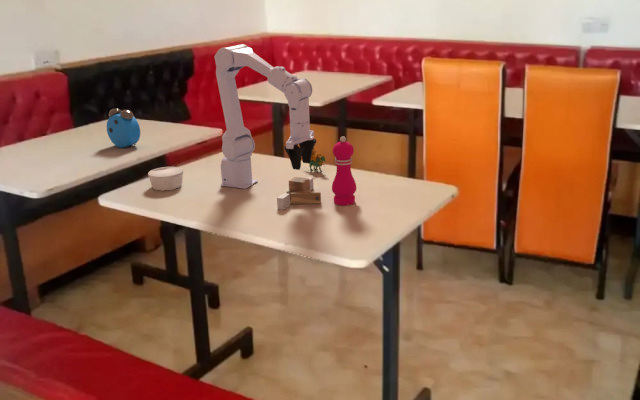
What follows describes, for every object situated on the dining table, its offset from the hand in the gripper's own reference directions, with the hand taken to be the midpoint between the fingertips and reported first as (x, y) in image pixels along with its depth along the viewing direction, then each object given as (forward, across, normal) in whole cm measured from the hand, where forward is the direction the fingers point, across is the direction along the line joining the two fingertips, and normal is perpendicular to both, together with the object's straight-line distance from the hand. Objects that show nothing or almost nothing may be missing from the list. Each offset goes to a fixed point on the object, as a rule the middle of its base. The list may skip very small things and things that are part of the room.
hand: (301, 166), depth 202 cm
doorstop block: (+10, -1, 0) cm, 10 cm away
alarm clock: (+10, +28, +94) cm, 98 cm away
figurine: (+10, +25, +8) cm, 28 cm away
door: (+10, -5, -4) cm, 12 cm away
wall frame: (+10, -1, +1) cm, 10 cm away
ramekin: (+10, -6, +46) cm, 48 cm away
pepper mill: (+10, 0, -14) cm, 17 cm away
